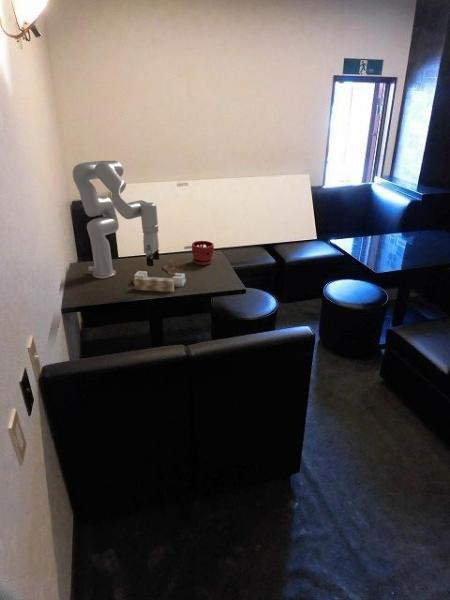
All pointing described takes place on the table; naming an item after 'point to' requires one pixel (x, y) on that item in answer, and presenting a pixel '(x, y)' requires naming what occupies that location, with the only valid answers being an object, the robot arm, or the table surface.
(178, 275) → the endcap board
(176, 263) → the wooden fragment
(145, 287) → the slat
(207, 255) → the plant pot
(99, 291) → the table surface
